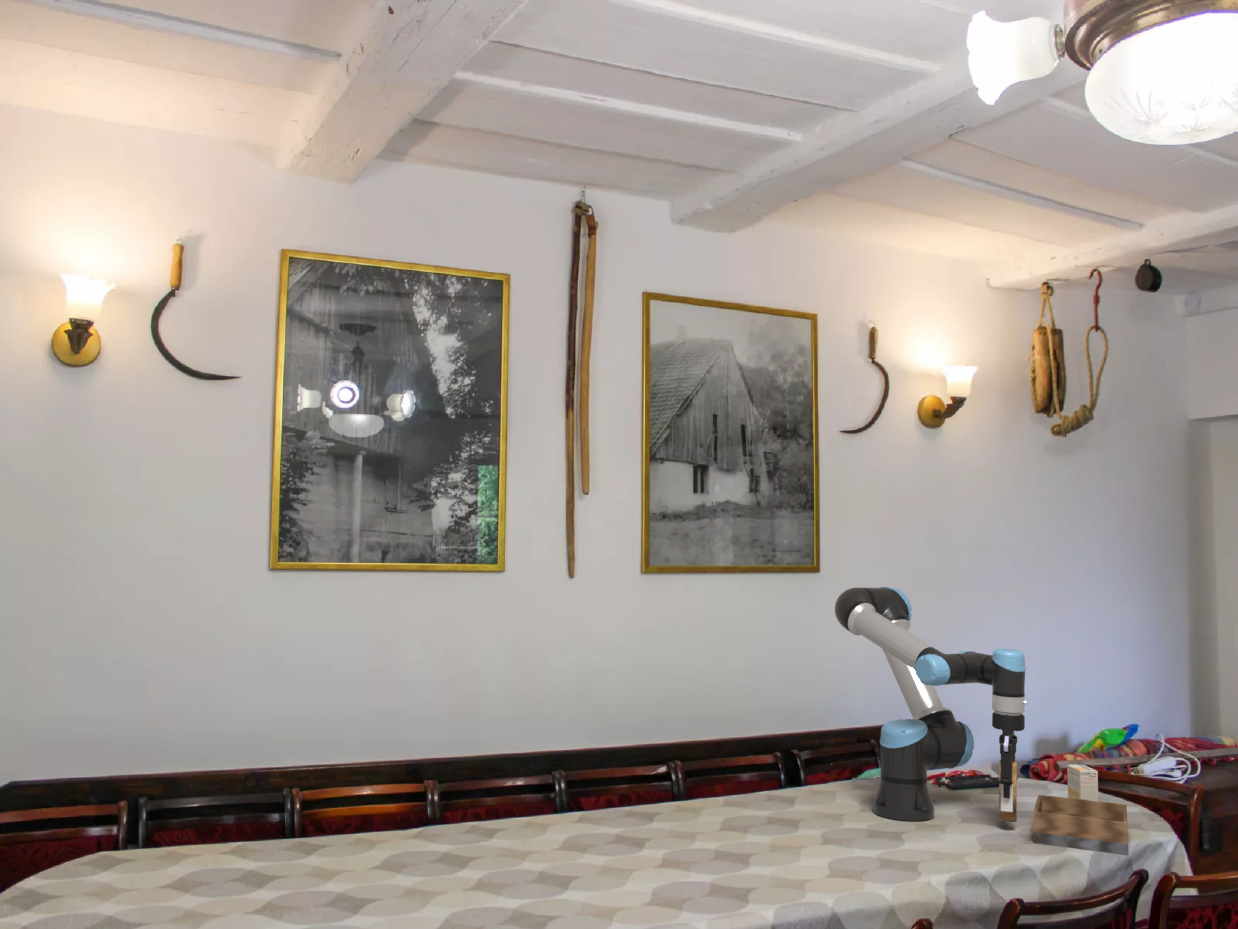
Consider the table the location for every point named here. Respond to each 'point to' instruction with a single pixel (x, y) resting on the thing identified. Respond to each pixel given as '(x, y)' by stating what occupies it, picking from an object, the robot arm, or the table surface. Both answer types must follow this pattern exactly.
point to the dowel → (1012, 815)
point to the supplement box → (1082, 782)
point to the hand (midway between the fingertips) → (1007, 808)
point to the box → (1081, 824)
